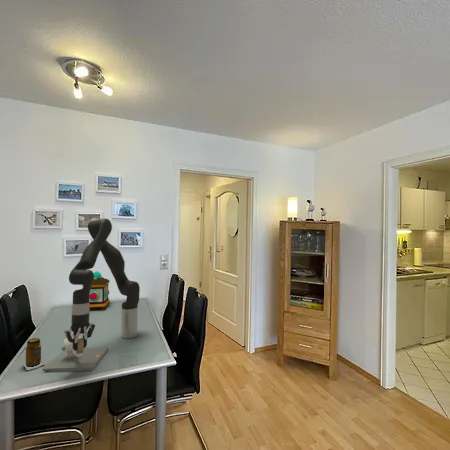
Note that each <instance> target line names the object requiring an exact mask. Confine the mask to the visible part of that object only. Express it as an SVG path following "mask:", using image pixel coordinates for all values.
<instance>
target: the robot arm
mask: <svg viewBox="0 0 450 450" xmlns="http://www.w3.org/2000/svg"><path fill="white" fill-rule="evenodd" d="M112 229H113V224H112V221H111V220H110V219H109V218H98V219H94V220H91V221H89V222H88V223H87V230H88V232H89V235H90V236H91V238H92V241H91V242H90V243H89V244H88V245H87V246H86V248H85V249H84V250H83V252H82V255H81V257H80V259H79V261H78V262H77V264H76V265H75V266H74V267H73V269H72V270H70V273H69V276H68V281H69V283H70V284H72V285H74V286H75V285H76V286H77V285H81V286H82V285H84V286H82V288H80V289H75V290H74V291H73V292H72V305H71V326H70V328H69V329H66V330H64V332H63V333H64V335H65V337H66V338H67V339H68V341H69V342H71V343H73V349H74V350H75V351H77V346H78V343H77V340H78V337H80V335H81V338H84V348H86V347H87V345H88V339H89V338H91V337H92V335H93V332H94V330H95V328H96V324H94V323H90V311H91V310H90V309H91V308H90V305H89V294H90V289H91V286H92V283H93V280H94V272H93V270H91V269H93V268H95V265H96V262H97V259H98V257H99V254H100V253H101V255H102V256H103V257H102V258H104V261H105V263H106V264H107V267H108V268H109V270H110V272H111V275H112V277H113V278H114V280H115V283H116V287H117V290H118V291H119V293H120V294H121V295H122V296H125V297H126V301H123V302H122V303H121V338H123V339H134V338H135V337H138V323H139V322H138V319H139V317H138V313H139V312H138V311H139V310H138V309H139V307H138V306H139V302H140V291H141V289H140V284H139V282H137V281H133V280H130V279H128V277H127V275H126V272H125V266H126V265H125V262H126V261H125V260H124V256H123V255H122V253H121V251H120V250H119V249H118V248H117V247H116V246H114V245H113V244H111V243H110V242H109V241H108V240H107V239H108V238H109V236H110V235H111V233H112ZM72 336H73V339H72Z"/></svg>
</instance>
